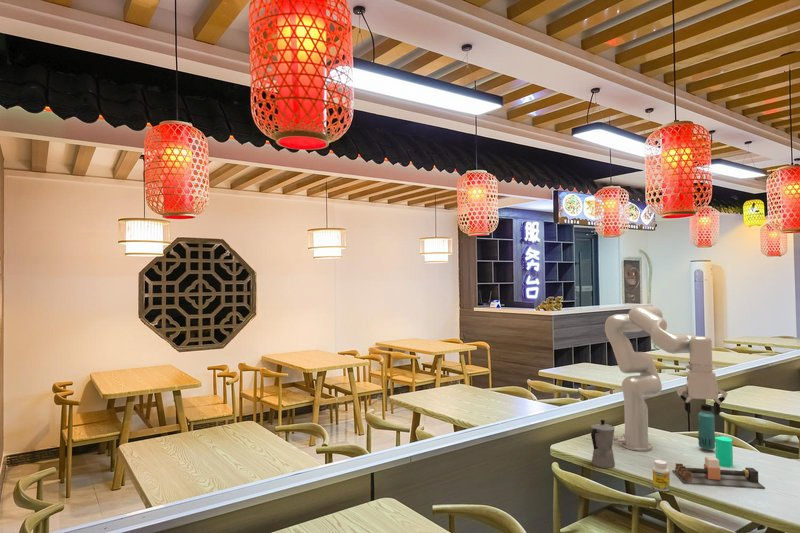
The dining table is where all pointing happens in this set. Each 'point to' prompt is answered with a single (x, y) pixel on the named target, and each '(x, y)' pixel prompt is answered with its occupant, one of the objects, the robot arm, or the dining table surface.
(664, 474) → the supplement bottle
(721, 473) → the linear slide rail
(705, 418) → the beverage bottle
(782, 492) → the dining table surface
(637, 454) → the dining table surface
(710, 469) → the orange block
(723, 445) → the candle
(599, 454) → the coffeepot
